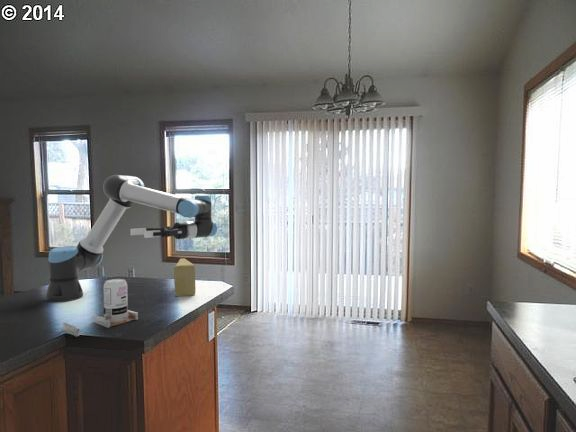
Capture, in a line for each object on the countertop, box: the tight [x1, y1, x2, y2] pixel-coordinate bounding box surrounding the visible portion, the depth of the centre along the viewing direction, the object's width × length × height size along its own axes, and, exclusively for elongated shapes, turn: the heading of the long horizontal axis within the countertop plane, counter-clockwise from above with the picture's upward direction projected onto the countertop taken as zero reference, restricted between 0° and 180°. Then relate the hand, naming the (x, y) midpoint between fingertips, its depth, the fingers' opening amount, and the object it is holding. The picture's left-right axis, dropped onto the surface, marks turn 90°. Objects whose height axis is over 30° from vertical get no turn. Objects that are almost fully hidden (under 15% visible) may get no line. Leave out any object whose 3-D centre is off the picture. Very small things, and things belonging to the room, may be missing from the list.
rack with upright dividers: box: [61, 309, 139, 337], centre depth 144 cm, size 10×23×2 cm, turn 144°
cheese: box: [173, 258, 196, 297], centre depth 195 cm, size 22×10×15 cm, turn 18°
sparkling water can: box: [102, 278, 129, 323], centre depth 148 cm, size 8×8×15 cm
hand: (137, 233), depth 160 cm, fingers open, 13 cm apart
